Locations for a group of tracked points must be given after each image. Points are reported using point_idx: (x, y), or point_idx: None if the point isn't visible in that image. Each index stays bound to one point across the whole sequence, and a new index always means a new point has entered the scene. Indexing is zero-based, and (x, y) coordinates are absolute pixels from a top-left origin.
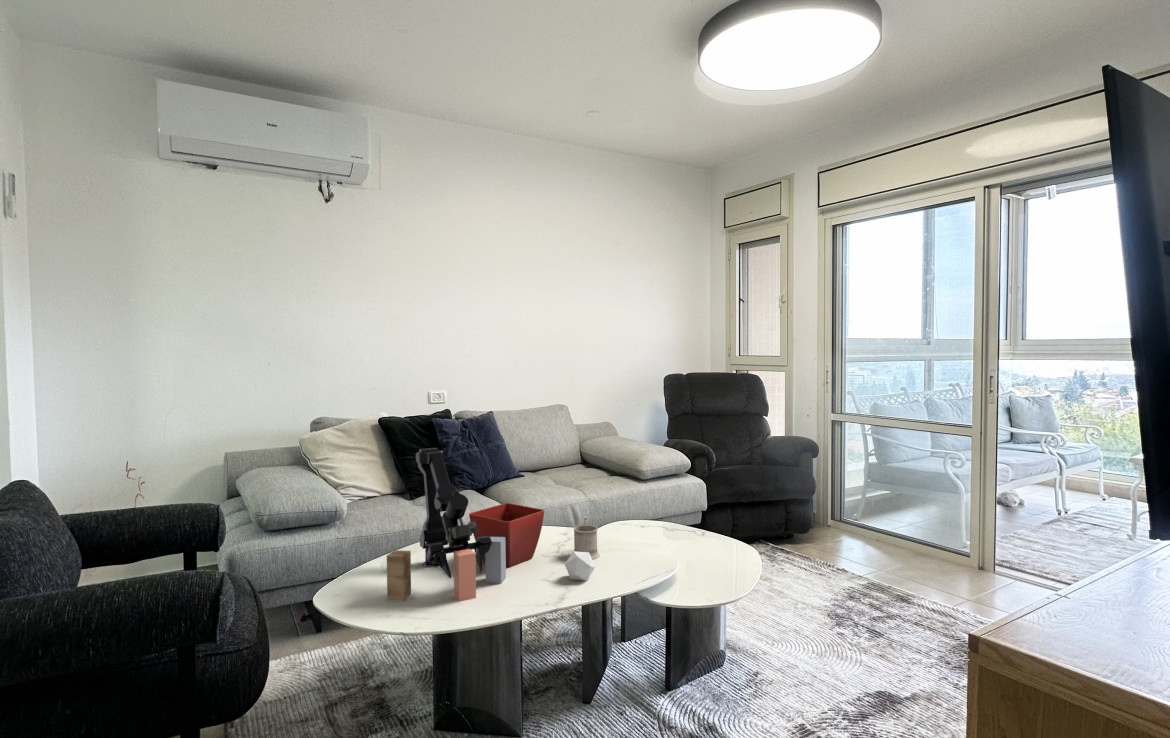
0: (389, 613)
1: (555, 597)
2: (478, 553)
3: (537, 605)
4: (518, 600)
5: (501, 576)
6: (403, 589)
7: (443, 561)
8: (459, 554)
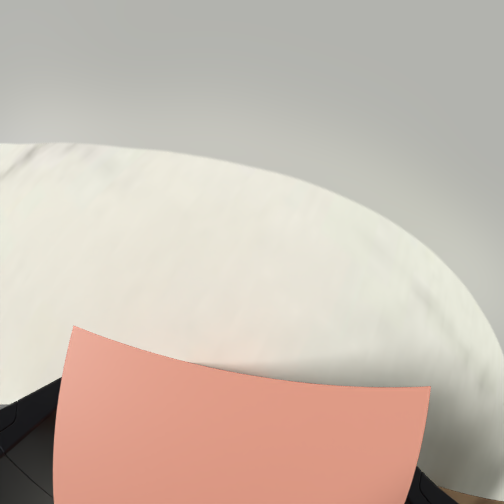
0: (478, 398)
1: (29, 166)
2: (7, 476)
3: (92, 148)
4: (89, 210)
5: (5, 406)
6: (451, 491)
7: (444, 496)
8: (382, 474)
